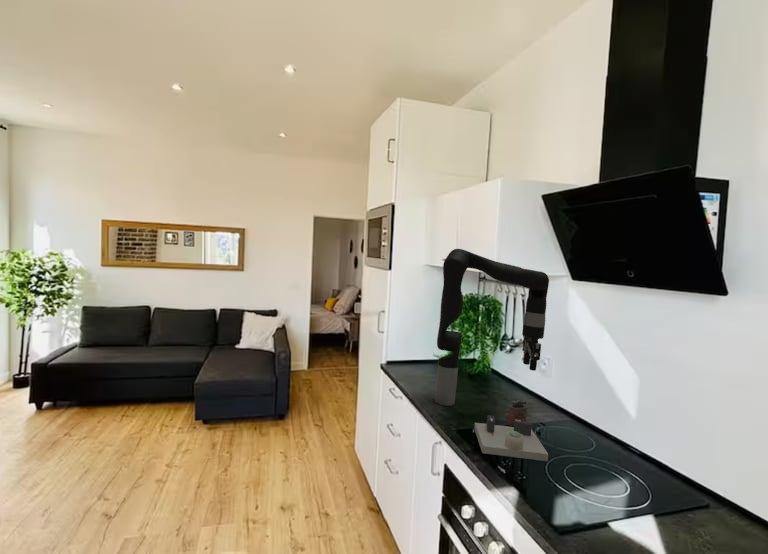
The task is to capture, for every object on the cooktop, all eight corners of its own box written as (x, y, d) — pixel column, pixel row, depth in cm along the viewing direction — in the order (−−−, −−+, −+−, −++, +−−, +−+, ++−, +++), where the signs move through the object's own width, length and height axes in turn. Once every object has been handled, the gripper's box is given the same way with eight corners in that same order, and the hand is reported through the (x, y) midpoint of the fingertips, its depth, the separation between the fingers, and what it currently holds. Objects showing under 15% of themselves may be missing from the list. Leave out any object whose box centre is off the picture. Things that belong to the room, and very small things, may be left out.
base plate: (474, 428, 158) (476, 411, 158) (531, 435, 156) (533, 417, 156) (482, 453, 138) (484, 433, 138) (547, 461, 136) (549, 441, 136)
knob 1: (492, 426, 155) (493, 415, 155) (493, 432, 149) (495, 421, 149) (486, 425, 156) (487, 414, 155) (487, 431, 150) (488, 419, 150)
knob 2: (530, 435, 150) (531, 424, 149) (513, 432, 151) (515, 420, 151) (530, 433, 152) (531, 421, 152) (513, 429, 154) (515, 418, 153)
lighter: (510, 426, 164) (513, 402, 163) (506, 422, 167) (508, 399, 167) (527, 425, 166) (530, 402, 165) (522, 422, 169) (525, 399, 169)
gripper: (550, 328, 142) (545, 373, 143) (538, 322, 156) (534, 363, 157) (529, 326, 143) (524, 371, 143) (518, 320, 157) (514, 361, 158)
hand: (529, 367), depth 150 cm, fingers open, 8 cm apart
